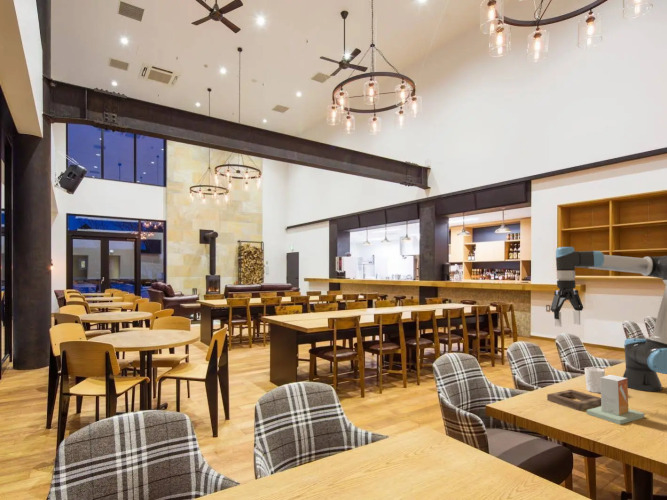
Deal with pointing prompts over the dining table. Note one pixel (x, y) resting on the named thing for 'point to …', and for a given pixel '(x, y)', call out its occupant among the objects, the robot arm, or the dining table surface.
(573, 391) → the walnut holder
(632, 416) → the board
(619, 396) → the small box
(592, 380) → the white cup
